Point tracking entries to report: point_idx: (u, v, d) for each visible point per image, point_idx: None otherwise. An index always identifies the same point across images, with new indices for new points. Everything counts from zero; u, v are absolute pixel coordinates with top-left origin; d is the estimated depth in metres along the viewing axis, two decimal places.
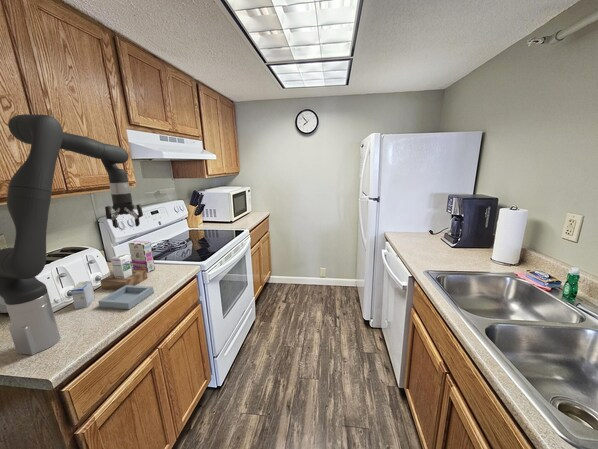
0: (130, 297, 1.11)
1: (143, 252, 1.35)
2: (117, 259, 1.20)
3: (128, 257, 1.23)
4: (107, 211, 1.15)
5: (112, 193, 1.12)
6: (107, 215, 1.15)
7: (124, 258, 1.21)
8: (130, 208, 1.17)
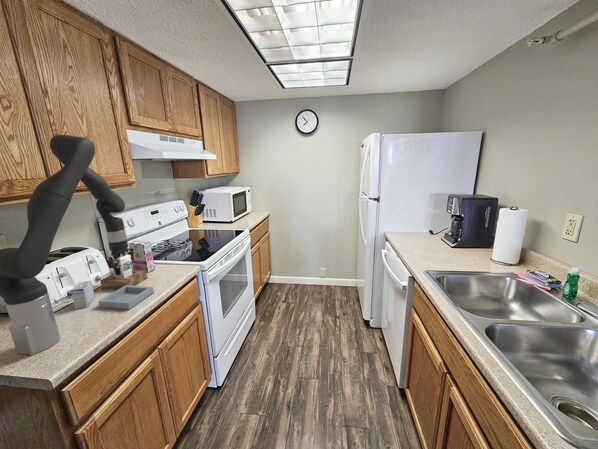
0: (130, 297, 1.11)
1: (143, 252, 1.35)
2: (117, 259, 1.20)
3: (128, 257, 1.23)
4: (112, 261, 1.17)
5: (118, 241, 1.18)
6: (113, 265, 1.17)
7: (124, 258, 1.21)
8: (127, 252, 1.25)
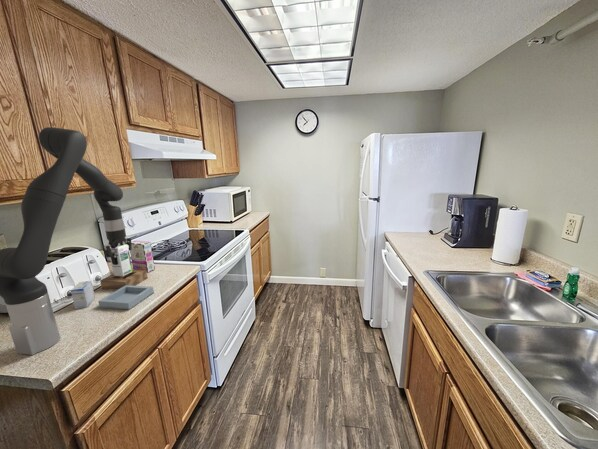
0: (130, 297, 1.11)
1: (143, 252, 1.35)
2: (114, 248, 1.18)
3: (126, 247, 1.22)
4: (110, 250, 1.15)
5: (116, 230, 1.16)
6: (111, 254, 1.16)
7: (122, 248, 1.20)
8: (124, 242, 1.23)
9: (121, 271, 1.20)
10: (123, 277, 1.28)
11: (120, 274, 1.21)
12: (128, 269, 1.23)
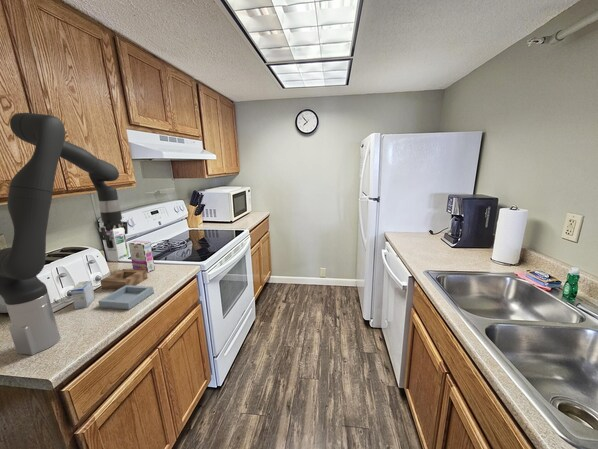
0: (130, 297, 1.11)
1: (143, 252, 1.35)
2: (110, 231, 1.13)
3: (121, 230, 1.17)
4: (104, 232, 1.10)
5: (111, 211, 1.11)
6: (105, 236, 1.10)
7: (117, 230, 1.14)
8: (120, 225, 1.18)
9: (116, 255, 1.15)
10: (123, 277, 1.28)
11: (115, 258, 1.15)
12: (124, 254, 1.18)
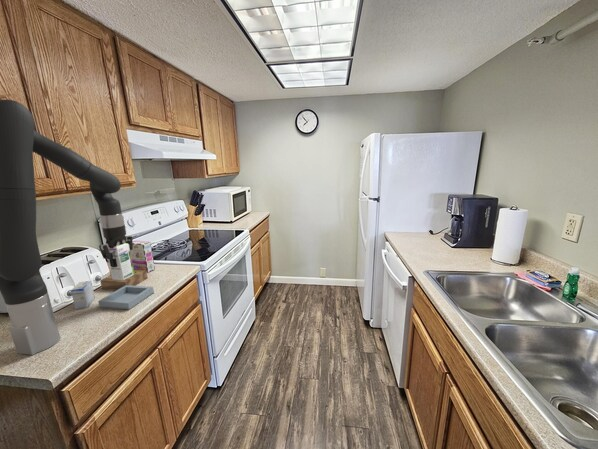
0: (130, 297, 1.11)
1: (143, 252, 1.35)
2: (113, 248, 1.01)
3: (126, 246, 1.05)
4: (107, 250, 0.98)
5: (114, 226, 0.99)
6: (108, 254, 0.99)
7: (121, 247, 1.03)
8: (125, 241, 1.06)
9: (121, 275, 1.04)
10: None
11: (120, 278, 1.04)
12: (129, 272, 1.07)
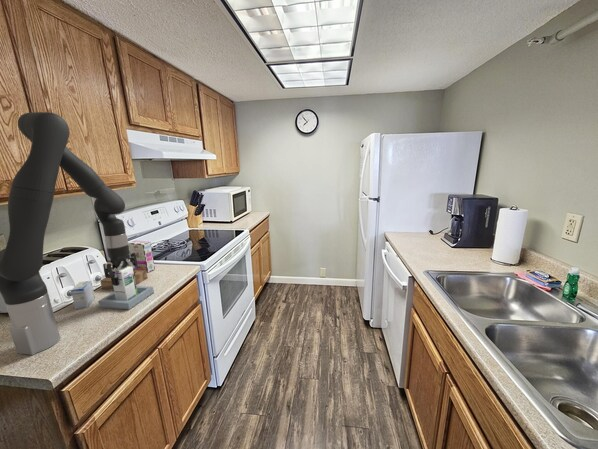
0: None
1: (143, 252, 1.35)
2: (118, 272, 1.03)
3: (130, 269, 1.07)
4: (110, 269, 1.00)
5: (118, 246, 1.01)
6: (111, 273, 1.00)
7: (126, 271, 1.05)
8: (128, 259, 1.09)
9: (125, 297, 1.06)
10: None
11: (124, 300, 1.06)
12: (133, 294, 1.09)
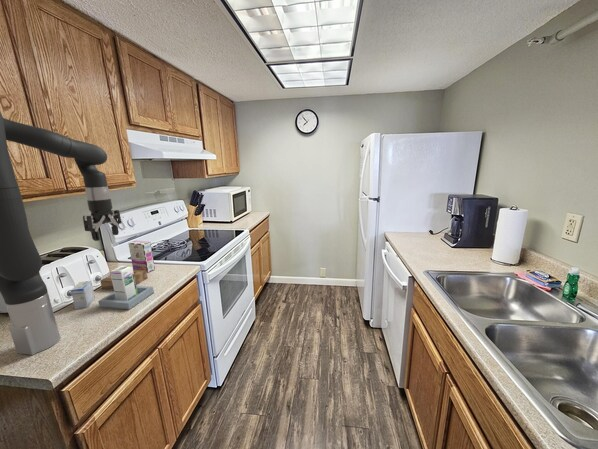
0: None
1: (143, 252, 1.35)
2: (118, 272, 1.04)
3: (130, 269, 1.07)
4: (90, 221, 0.96)
5: (99, 199, 0.97)
6: (91, 226, 0.96)
7: (126, 271, 1.05)
8: (111, 215, 1.05)
9: (125, 297, 1.06)
10: None
11: (124, 300, 1.06)
12: (133, 294, 1.09)
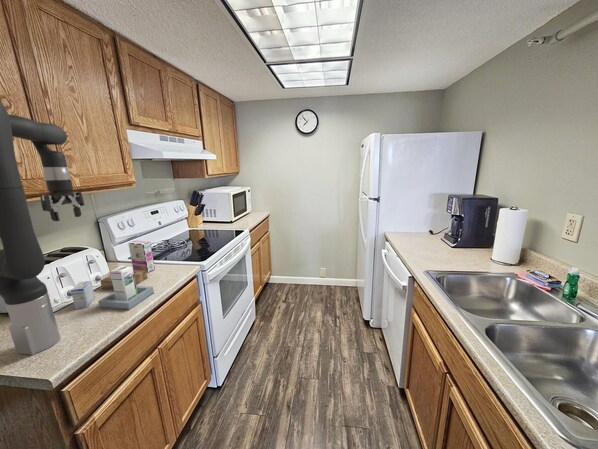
0: None
1: (143, 252, 1.35)
2: (118, 272, 1.03)
3: (130, 269, 1.07)
4: (48, 201, 0.96)
5: (57, 179, 0.97)
6: (48, 206, 0.96)
7: (126, 271, 1.05)
8: (72, 196, 1.04)
9: (125, 297, 1.06)
10: None
11: (124, 300, 1.06)
12: (133, 294, 1.09)
